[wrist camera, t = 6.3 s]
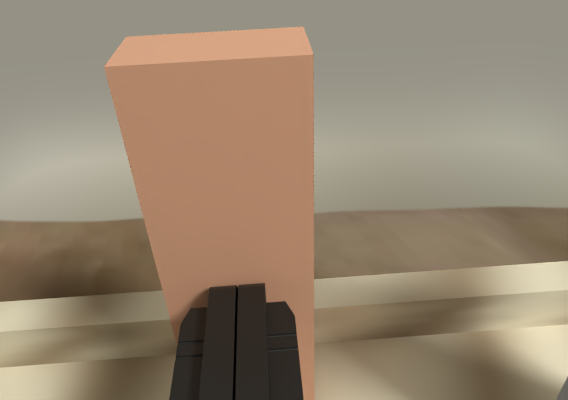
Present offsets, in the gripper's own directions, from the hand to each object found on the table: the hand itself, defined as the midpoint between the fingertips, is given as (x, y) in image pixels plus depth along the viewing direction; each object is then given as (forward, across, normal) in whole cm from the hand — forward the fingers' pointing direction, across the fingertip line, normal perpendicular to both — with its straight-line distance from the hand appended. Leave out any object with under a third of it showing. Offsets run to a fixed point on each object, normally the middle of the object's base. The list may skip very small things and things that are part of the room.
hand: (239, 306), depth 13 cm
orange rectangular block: (+1, 0, +5) cm, 5 cm away
